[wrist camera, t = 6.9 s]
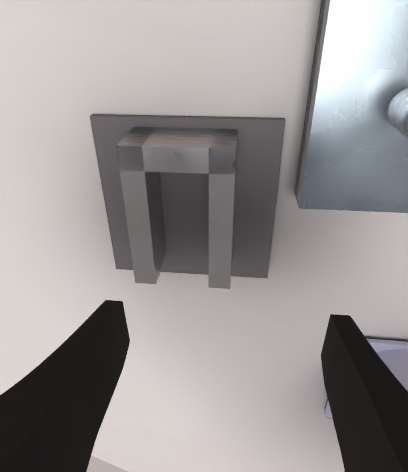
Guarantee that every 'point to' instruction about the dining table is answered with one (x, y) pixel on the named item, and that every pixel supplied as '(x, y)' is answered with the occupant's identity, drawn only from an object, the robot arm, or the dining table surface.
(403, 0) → the metal base with post
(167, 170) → the gray tabletop stand
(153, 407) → the dining table surface
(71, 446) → the robot arm
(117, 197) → the mat
